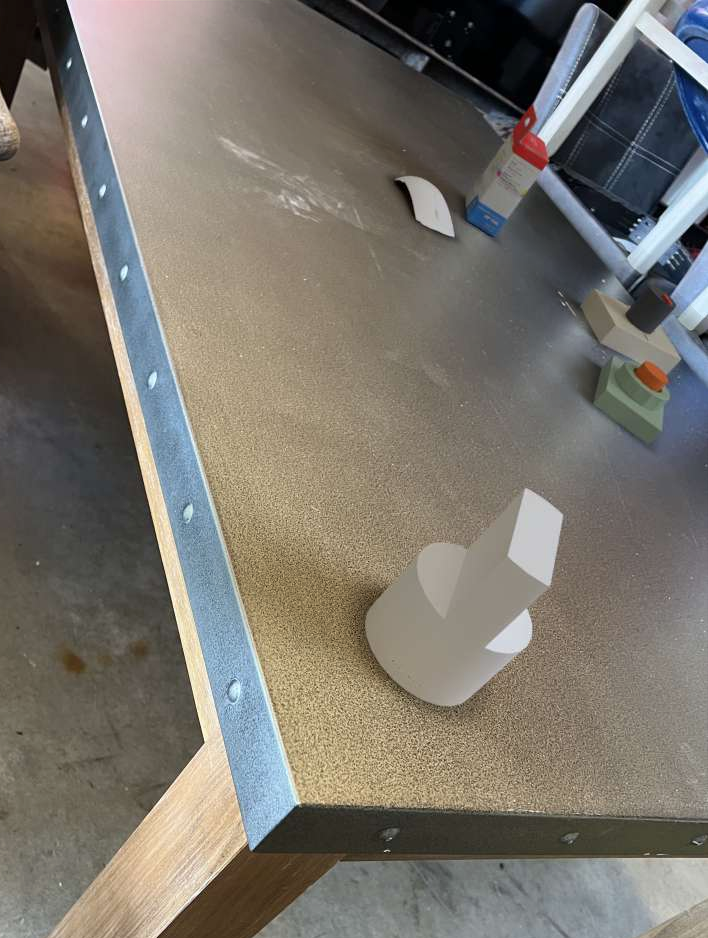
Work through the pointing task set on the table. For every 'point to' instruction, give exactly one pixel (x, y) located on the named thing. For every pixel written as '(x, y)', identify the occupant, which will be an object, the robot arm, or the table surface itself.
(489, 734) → the table surface
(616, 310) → the dial panel
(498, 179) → the ink box
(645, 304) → the program dial
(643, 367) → the button
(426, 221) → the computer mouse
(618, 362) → the block
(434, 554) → the cylinder with rectangular tab
